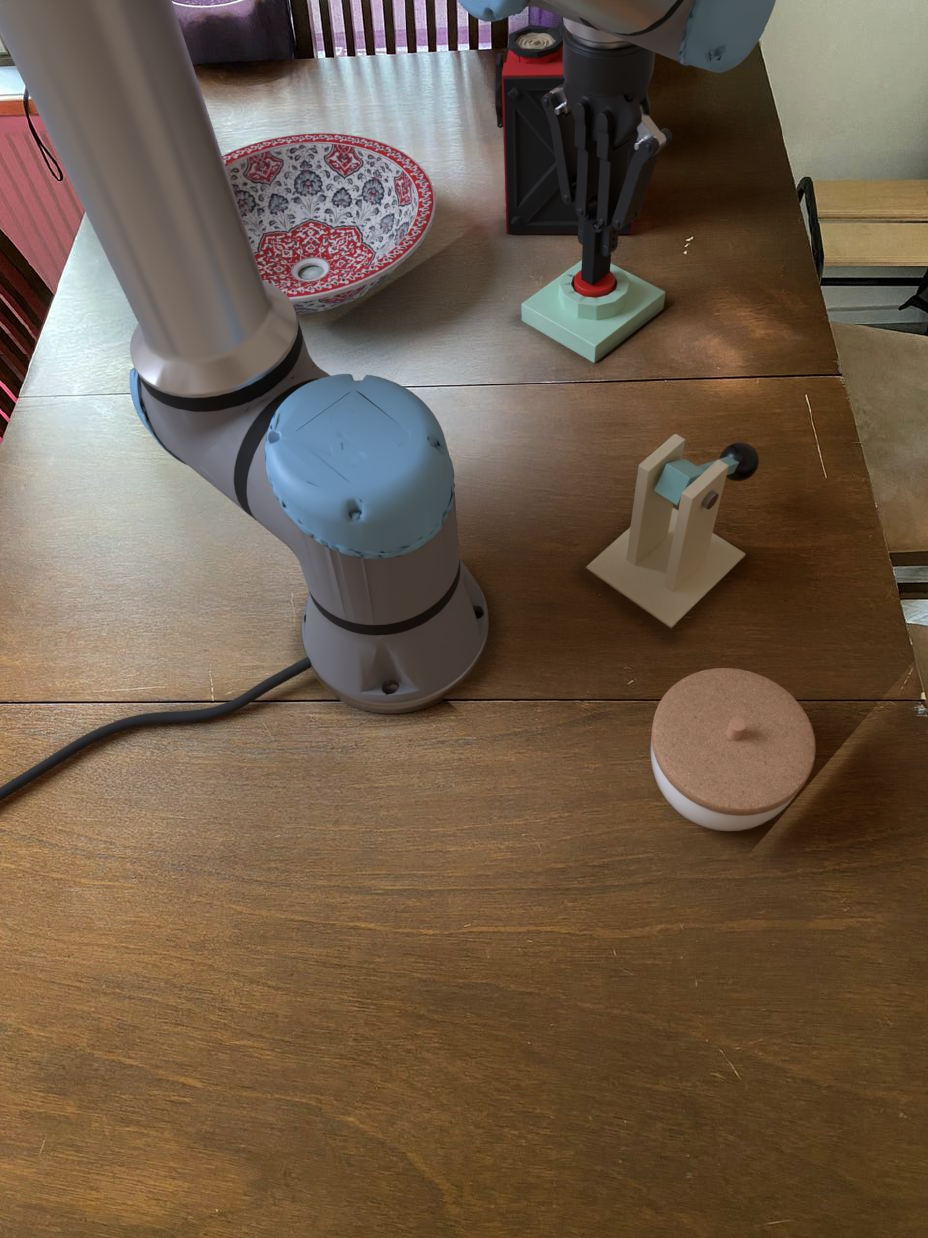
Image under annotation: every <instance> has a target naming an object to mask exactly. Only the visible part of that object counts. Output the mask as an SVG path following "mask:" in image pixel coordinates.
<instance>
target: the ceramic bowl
mask: <svg viewBox="0 0 928 1238" xmlns="http://www.w3.org/2000/svg"><path fill="white" fill-rule="evenodd" d="M222 157H223V160H224V163H225V167H226V170H227V173H228V176H229V179H230V182H231V185H232V188H233V191H234V194H235V198H236V201H237V204H238V207H239V210H240V213H241V216H242V219H243V222H244V225H245V228H246V232H247V235H248V238H249V241H250V244H251V247H252V250H253V253H254V256H255V259H256V263H257V266H258V269H259V272H260V275H261V278H262V281H265V282H268V283H270V284H272V285H274V286H275V287H277V288H279V289H280V290H281V291H282V292H284V293H285V294H286V295H287V297H288V298H289V299H290V300H291V302H292V304H293V307H294V309H295V311H296V314H297V315H306V314H313V313H319V312H324V311H329V310H332V309H336V308H338V307H341V306H344V305H347V304H349V303H352V302H354V301H356V300H358V299H359V298H361V297H364V296H365V295H367V294H368V293H370V292H371V291H373V290H374V289H376V288H377V287H378V286H379V285H381V284H382V283H383V282H384V281H386V279H387V278H389V277H390V276H391V274H393V272H395V270H397V268H398V267H399V266H400V265H401V264H402V263H404V262H405V261H406V260H407V259H408V258H409V257H410V256H412V254H414V252H416V250H418V248H419V247H420V246H421V245H422V243H423V242H424V241H425V239H426V237H427V236H428V235H429V232H430V230H431V228H432V226H433V223H434V220H435V216H436V212H437V195H436V190H435V188H434V185H433V182H432V180H431V178H430V177H429V174H427V171H426V170H425V169H424V168H423V167H422V166H421V165H420V163H418V162H417V161H416V160H415V159H414V158H412V157H411V156H410V155H408V154H406V153H405V152H404V151H402V150H400V149H399V148H396V147H394V146H392V145H390V144H387V143H384V142H381V141H378V140H375V139H372V138H368V137H364V136H358V135H352V134H344V133H331V132H330V133H329V132H328V133H327V132H322V133H321V132H315V133H314V132H313V133H300V134H291V135H285V136H279V137H274V138H269V139H265V140H261V141H257V142H254V143H250V144H248V145H245V146H242V147H240V148H237V149H235V150H232V151H230V152H228V153H225V154H222ZM310 266H318V267H320V268H321V269H322V270H323V272H322V274H321V275H320V276H318V277H316V278H314V279H303V278H301V277H299V272H300V271H302V269H304V268H306V267H310Z"/></svg>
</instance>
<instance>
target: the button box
mask: <svg viewBox="0 0 928 1238" xmlns="http://www.w3.org/2000/svg"><path fill="white" fill-rule="evenodd" d="M581 269H582V259H581V260H579V261H578V262H576V263H575V264H574V265H573V266H571V267H570V268H567V270H565V271H564V272H563V273H561V274H560V275H559V276H557V277H556V278H554V279H553V280H552V281H551V282H549V283H548V284H546V285H545V286H543V287H542V288H541V289H539V290H537V292H535V293H534V294H533V295H531V296H530V297H528V298H527V299H526V300H524V301H523V302H522V303H521V304H520V305H521V322H524V324H527V325H529V326H530V327H532V328H533V329H534V330H537V331H539V332H541V333H542V334H544V335H546V336H547V337H549V338H550V339H552V340H554V341H556V342H558V343H559V344H561V345H562V346H564V347H566V348H568V349H569V350H571V351H573V352H575V353H576V354H577V355H580V356H581V357H583V358H585V359H587V361H590V362H591V363H594V364H595V363H597V362H598V361H599V360H600V359H602V358H604V357H605V356H606V355H607V354H609V352H611V351H612V350H613V349H615V348H616V347H617V346H618V345H619V344H621V343H622V342H623V341H624V340H626V339H627V338H629V337H630V336H631V335H633V333H635V332H636V331H637V330H639V329H640V328H641V327H642V326H644V325H645V324H646V323H647V322H649V321H650V320H652V318H654V317H655V316H657V315H658V314H659V313H660V312H661V311H664V307H665V300H666V299H665V298H666V291H665V290H664V289H661V288H659V287H657V286H655V285H653V284H652V283H649V282H648V281H646V280H644V279H642V278H640V277H638V276H636V275H634V274H632V273H630V272H629V271H627V270H625V269H622V268H621V267H619V266H617V265H615V264H613V263H611V265H610V271H611V272H612V274H613V275H614V278H615V281H614V291H613V292H612V293H610V294H609V295H607V296H602V297H598V298H593V297H584V296H582V295H581V294H579V293H577V292H575V291H574V281H575V276H576V274H577V273H578V272H579V271H580V270H581Z"/></svg>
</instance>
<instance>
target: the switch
mask: <svg viewBox="0 0 928 1238" xmlns="http://www.w3.org/2000/svg"><path fill="white" fill-rule="evenodd" d="M717 460H720V461H722V462H724V463H725V464H727V465H729V467H728V471H727V476H726V479H728V480H729V481H733V482H743V481H746V480H748V479H750V478H751V477H752V476H754V475H755V473H756V472H757V471H758V468H759V462H760V459H759V454H758V452H757V450H756V449H755V448H754V447H753V446H752V445H750V444H749V443H746V442H742V441H741V442H740V441H739V442H738V441H737V442H732V443H730V444H729V445H727V446H726V447H725V448H723V450H722V451H721V453H720V455H719V458H718V459H715V460H712V461H709V462H706V463H703V464H700V465H696V464H694V463H693V462H692V461H690V460H688V459H687V458H682V459H680V460H677V461H674V462H671V463H667V464H666V466H665V468H664V470H663V472H662V475H661V477H660V479H659V481H658V483H657V485H656V488H655V490H654V491H655V492H657V493H658V494H660V495H661V496H663V497H665V498H666V499H668V500H669V501H671V502H672V503H674V504H673V505H675V506H679V505H680V500H681V494H682V492H683V491H684V490H685V489H686V488H687V487H688V486H689V485H691V484H692V483H693V482H694V481H695V480H696V479H697V478H698V477H699V476H700V475H702V474H703V473H704V472H705V471H706V470H707V469H708V468H709V467H710V466H712V465H713V464H714V463H715V462H716V461H717Z"/></svg>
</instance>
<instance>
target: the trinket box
mask: <svg viewBox="0 0 928 1238" xmlns="http://www.w3.org/2000/svg"><path fill="white" fill-rule="evenodd" d="M816 746H817V745H816V737H815V734H814V728H813V725H812V723H811V720H810V719H809V716H808V715H807V713H806V711H805V710H804V708H803V707H802V705H801V704H800V703H799V702H798V700H796V698H795V697H794V696H793V695H792V694H791V693H790V692H788V691H787V689H785V688H784V687H782V686H781V685H780V684H778V683H777V682H775V681H774V680H772V679H769V678H767V677H765V676H763V675H761V674H758V673H755V672H753V671H750V670H745V669H740V668H734V667H733V668H732V667H716V668H709V669H704V670H699V671H697V672H694V673H690V674H689V675H687V676H685V677H683V678H682V679H680V680H679V681H677V682H676V683H675V684H673V685H672V686H671V687H670V688H669V689H668V690H667V692H665V693H664V694H663V697H662V698H661V699H660V700H659V702H658V705H657V706H656V709H655V713H654V716H653V721H652V724H651V738H650V761H651V768H652V772H653V775H654V778H655V781H656V784H657V786H658V789H659V790H660V792H661V794H662V795H663V797H664V798H665V800H666V801H667V803H668V804H670V805H671V807H672V808H673V809H674V810H675V811H676V812H678V813H679V814H680V815H681V816H682V817H684V818H685V819H687V820H689V821H691V822H692V823H693V824H695V825H698V826H701V827H703V828H706V829H709V830H714V831H722V832H740V831H746V830H750V829H753V828H756V827H759V826H761V825H763V824H765V823H766V822H768V821H770V820H772V819H773V818H775V817H776V816H778V815H779V814H780V813H781V812H783V810H785V808H787V806H789V804H790V803H791V802H792V801H793V799H794V798H795V797H796V796H797V794H799V792H800V791H801V789H802V788H803V787H804V786H805V784H806V783H807V780H808V779H809V777H810V775H811V773H812V771H813V767H814V763H815V761H816V752H817V748H816Z"/></svg>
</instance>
